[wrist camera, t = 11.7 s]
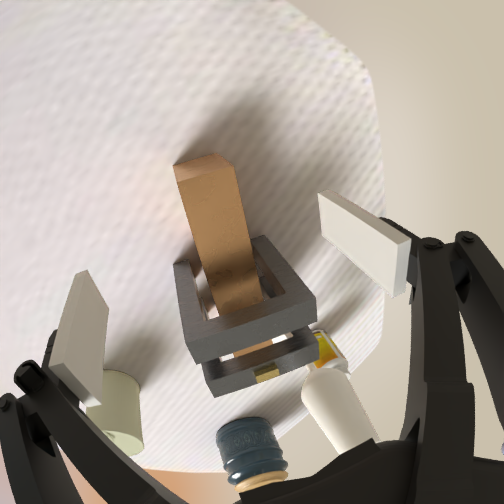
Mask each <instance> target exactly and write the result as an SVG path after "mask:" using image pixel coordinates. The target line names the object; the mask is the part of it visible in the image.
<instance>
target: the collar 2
mask: <svg viewBox="0 0 504 504" xmlns="http://www.w3.org/2000/svg"><path fill="white" fill-rule="evenodd" d="M258 279H259V283H260V288H261V292H262V296H263V298H264V300H265V301H266V300H268V299H271V298H274V297H277V295H276V293H275V292H274V290H273V288H272V287H271V285H270V284H269V282H268V281H267V279H266V277H265V276H263V277H260V278H258ZM200 300H201V303H202V307H203V311H204V314H205V318H206V321H207V320H210V319H209V316H208V312H207V310H206V307H205V304H204V302H203V299H202V297H200ZM285 336H286V338H287V339H285V340H283V341H280V342H277V343H275V344H272V345H269V346H267V347H264V348H261V349H258V350H255V351H253V352H250V353H247V354H244V355H241V356H238V357H235V358H232V359H229V360H226V361H223V362H222V359H221V357H219V358H215V359H212V360H209V361H206V362H203V363H201V365H202V369H203V373H204V377H205V381H206V384H207V385H208V387H209V389H210V391H211V393H212V394H213V396H214V398H216V397H219V396H222V395H225V394H228V393H232V392H235V391H238V390H241V389H244V388H247V387H249V386H252V385H255V384H258V383H261V382H264V381H266V380H269V379H272V378H274V377H277V376H280V375H282V374H285V373H287V372H290V371H292V370H295V369H297V368H300V367H302V366H305V365H307V364H310V363H312V362H314V361H317V360H319V359H320V358H319V341H318V340H317V339H316V337H315V336H314V334H313V333H312V331H311V330H310V328H309V327H308V325H307V326H305V327H302V328H299V329H297V330H294V331H292V332H289V333H287V334H285Z"/></svg>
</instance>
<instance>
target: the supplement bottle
mask: <svg viewBox="0 0 504 504" xmlns="http://www.w3.org/2000/svg"><path fill="white" fill-rule="evenodd" d="M312 333H313V334H314V336H315V337H316V339H317V340H318V341H319V358H320V359H319V360H317V361H314V362H313V363H314V364H315V366H316V368H333V369H337V370H339V371H342V372H343V373H344V374H345V375H346V376H347V378H348V380H350V378H351V374H350V373H349V371H348V369H347V368H348V361H347V360H346V358H345V357H344V356H343V354H342V353H341V351H340V350H339V349H338V347H337V346H336V345H335V343H334V342H333V341H332V339H331V338H330V337H329V335H328V334H327V333H326V332H325V331H323V330H314V331H312Z"/></svg>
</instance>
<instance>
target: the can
mask: <svg viewBox="0 0 504 504" xmlns="http://www.w3.org/2000/svg"><path fill="white" fill-rule="evenodd" d="M139 393H140V387H139V385H138V383H137V382H136V380H135V379H133V378H132V377H131V376H129V375H127V374H125V373H122V372H119V371H114V370H103V381H102V405H97V406H92V407H86V415H87V416H88V417H89V418H90V419H91V421H92V422H93V423H94V424H95V425H96V426H97V427H98V428H99V429H100V430H101V431H102V432H103V433H104V434H105V435H106V436H107V437H108V438H109V439H110V440H111V441H112V442H113V443H114V444H115V445H116V446H117V447H118V448H120V449H121V450H122V451H123V452H124V453H125V454H126V455H127V456H133V455H136V454H139V453H140V452H141V451H142V450H143V449H144V443H143V437H142V428H141V416H140V400H139Z"/></svg>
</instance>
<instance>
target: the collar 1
mask: <svg viewBox="0 0 504 504" xmlns="http://www.w3.org/2000/svg"><path fill="white" fill-rule="evenodd" d="M250 242H251V247H252V251H253V256H254V260H255V262H256V263H257V265H258V267H259V268H260V270H261V271H262V273H263V274H264V276H265V277H266V279H267V281H268V282H269V284H270V285H271V287H272V288H273V290H274V292H275V293H276V295H277V297H274V298H271V299H268V300H266V301H263V302H260V303H257V304H254V305H251V306H248V307H245V308H243V309H240V310H237V311H234V312H231V313H228V314H225V315H222V316H219V317H216V318H213V319H210V320H207V321H206V318H205V314H204V311H203V307H202V303H201V300H200V296H199V292H198V288H197V284H196V280H195V277H194V274H193V271H192V269H191V266H190V263H189V260H185V261H182V262H179V263H176V264H173V268H174V276H175V283H176V289H177V296H178V303H179V309H180V315H181V321H182V327H183V332H184V338H185V343H186V345H187V347H188V349H189V351H190V353H191V355H192V357H193V359H194V361H195V363H196V364H200V363H203V362H206V361H209V360H212V359H215V358H219V357H222V356H225V355H228V354H231V353H234V352H237V351H240V350H243V349H245V348H248V347H251V346H254V345H257V344H260V343H262V342H265V341H268V340H271V339H273V338H276V337H279V336H281V335H284V334H287V333H289V332H292V331H294V330H297V329H299V328H302V327H305V326H307V325H310V324H312V323H314V322H317V308H316V297H315V296H314V295H313V294H312V292H311V291H310V290H309V289H308V287H307V286H306V285H305V284H304V282H303V281H302V280H301V279H300V278H299V276H298V275H297V274H296V273H295V271H294V270H293V269H292V268H291V266H290V265H289V264H288V263H287V262H286V260H285V259H284V258H283V257H282V255H281V254H280V253H279V252H278V251H277V249H276V248H275V247H274V246H273V244H272V243H271V242H270V241H269V240H268V238H267V237H266V236H265V235H263V236H260V237H257V238H254V239H250Z"/></svg>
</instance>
